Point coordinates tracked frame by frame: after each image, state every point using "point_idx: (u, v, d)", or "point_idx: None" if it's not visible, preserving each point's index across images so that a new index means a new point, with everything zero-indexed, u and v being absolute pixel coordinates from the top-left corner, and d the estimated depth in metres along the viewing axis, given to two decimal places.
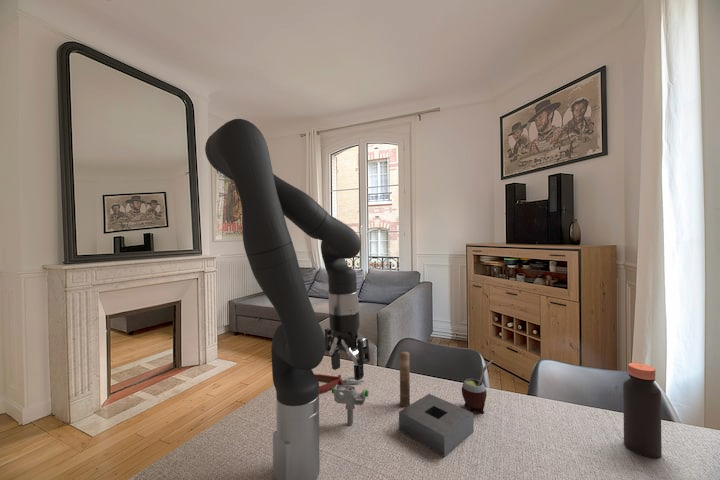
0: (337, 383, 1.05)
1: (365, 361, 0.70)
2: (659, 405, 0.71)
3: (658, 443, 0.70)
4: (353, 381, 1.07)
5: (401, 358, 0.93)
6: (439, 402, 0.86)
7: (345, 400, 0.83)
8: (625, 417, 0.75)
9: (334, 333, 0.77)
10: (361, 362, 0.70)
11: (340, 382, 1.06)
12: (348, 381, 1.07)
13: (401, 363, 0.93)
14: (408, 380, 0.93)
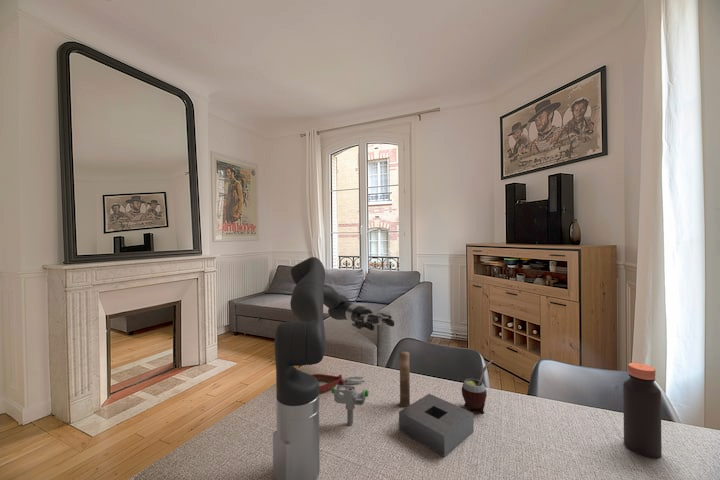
0: (338, 383, 1.06)
1: None
2: (659, 405, 0.71)
3: (658, 443, 0.70)
4: (354, 381, 1.08)
5: (401, 358, 0.93)
6: (439, 402, 0.86)
7: (345, 400, 0.83)
8: (625, 417, 0.75)
9: (361, 317, 1.10)
10: None
11: (341, 382, 1.06)
12: (349, 381, 1.07)
13: (401, 363, 0.93)
14: (408, 380, 0.93)
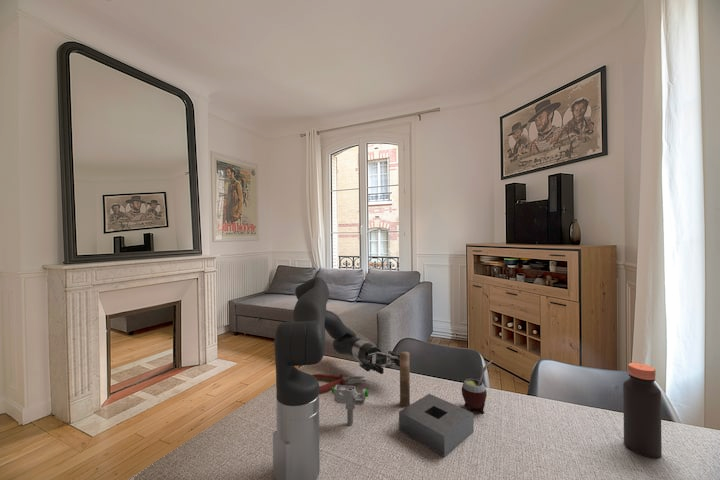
0: (339, 383, 1.06)
1: None
2: (659, 405, 0.71)
3: (658, 443, 0.70)
4: (355, 380, 1.08)
5: (401, 358, 0.93)
6: (439, 402, 0.86)
7: (345, 400, 0.83)
8: (625, 417, 0.75)
9: (369, 356, 1.06)
10: None
11: (342, 382, 1.06)
12: (350, 381, 1.08)
13: (401, 363, 0.93)
14: (408, 380, 0.93)
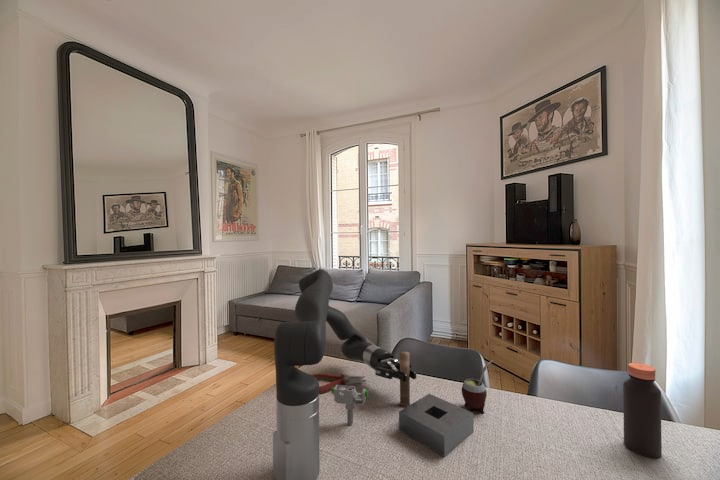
0: (340, 382, 1.06)
1: None
2: (659, 405, 0.71)
3: (658, 443, 0.70)
4: (356, 380, 1.08)
5: (401, 358, 0.93)
6: (439, 402, 0.86)
7: (345, 400, 0.83)
8: (625, 417, 0.75)
9: (381, 363, 0.99)
10: (410, 364, 0.98)
11: (343, 381, 1.06)
12: (351, 380, 1.08)
13: (401, 363, 0.93)
14: (408, 380, 0.93)
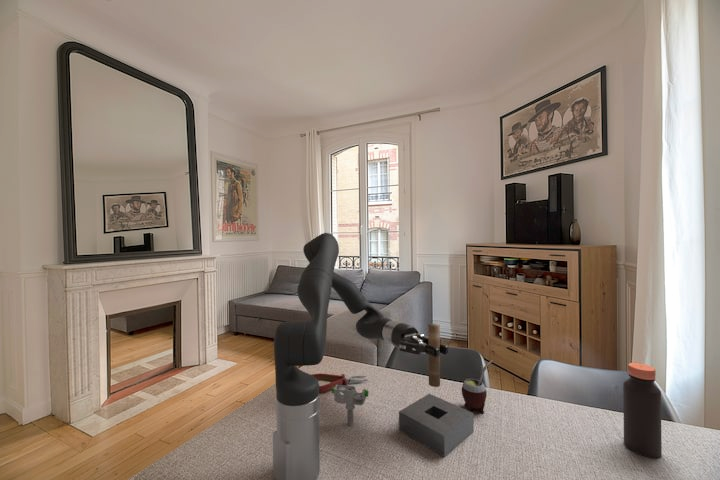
0: (341, 382, 1.06)
1: None
2: (659, 405, 0.71)
3: (658, 443, 0.70)
4: (357, 380, 1.08)
5: (430, 330, 0.81)
6: (439, 402, 0.86)
7: (345, 400, 0.83)
8: (625, 417, 0.75)
9: (405, 338, 0.87)
10: None
11: (344, 381, 1.06)
12: (352, 380, 1.08)
13: (430, 336, 0.81)
14: None
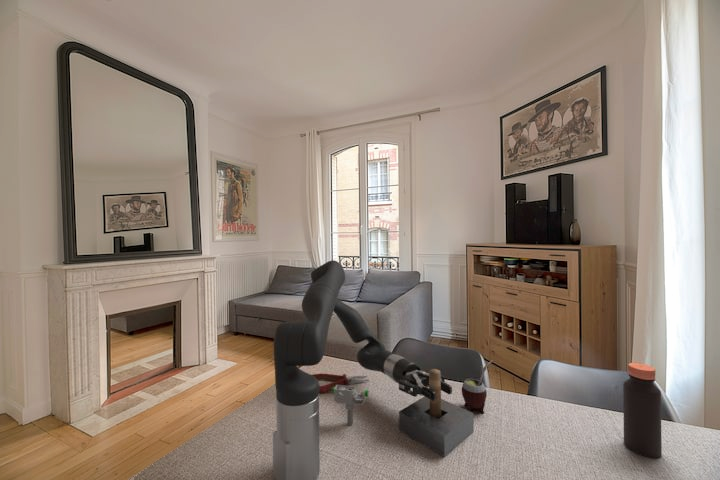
0: (342, 382, 1.06)
1: None
2: (659, 405, 0.71)
3: (658, 443, 0.70)
4: (358, 380, 1.08)
5: (431, 377, 0.80)
6: None
7: (345, 400, 0.83)
8: (625, 417, 0.75)
9: (407, 376, 0.86)
10: (443, 376, 0.86)
11: (345, 381, 1.06)
12: (353, 380, 1.08)
13: (431, 383, 0.80)
14: (440, 403, 0.80)
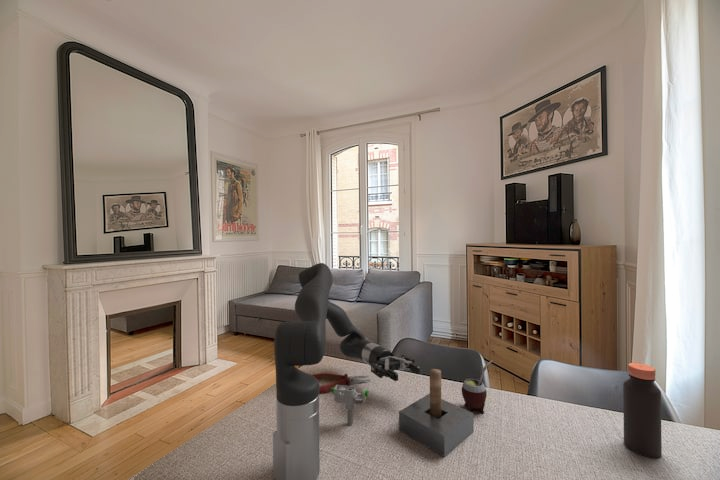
0: (344, 382, 1.06)
1: None
2: (659, 405, 0.71)
3: (658, 443, 0.70)
4: (360, 380, 1.08)
5: (432, 377, 0.80)
6: None
7: (345, 400, 0.83)
8: (625, 417, 0.75)
9: (381, 361, 0.97)
10: (413, 359, 0.98)
11: (347, 381, 1.07)
12: (355, 380, 1.08)
13: (432, 383, 0.80)
14: (440, 403, 0.80)
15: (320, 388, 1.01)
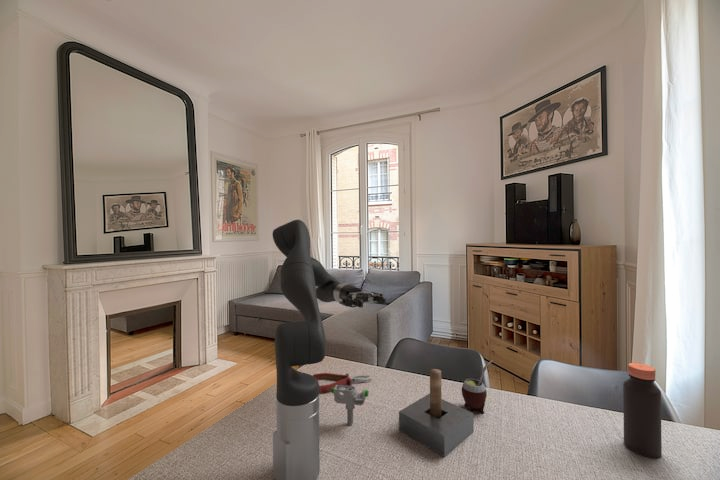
0: (345, 381, 1.07)
1: None
2: (659, 405, 0.71)
3: (658, 443, 0.70)
4: (361, 379, 1.09)
5: (432, 377, 0.80)
6: None
7: (345, 400, 0.83)
8: (625, 417, 0.75)
9: (349, 295, 1.01)
10: None
11: (348, 380, 1.07)
12: (356, 379, 1.09)
13: (432, 383, 0.80)
14: (440, 403, 0.80)
15: (322, 388, 1.02)
